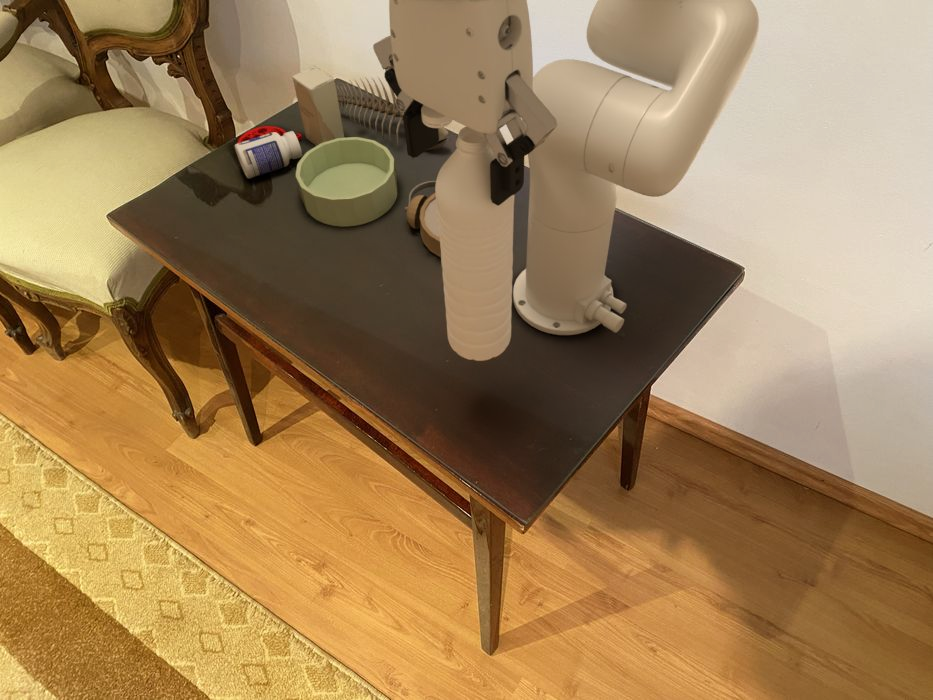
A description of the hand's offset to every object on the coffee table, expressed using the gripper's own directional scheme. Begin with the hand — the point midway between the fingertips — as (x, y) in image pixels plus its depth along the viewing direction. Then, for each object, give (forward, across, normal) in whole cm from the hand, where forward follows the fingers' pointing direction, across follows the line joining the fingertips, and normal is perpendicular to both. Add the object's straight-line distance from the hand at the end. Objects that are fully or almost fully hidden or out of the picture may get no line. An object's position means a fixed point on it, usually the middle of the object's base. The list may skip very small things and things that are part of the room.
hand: (464, 170), depth 60 cm
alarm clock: (+33, +21, -19) cm, 43 cm away
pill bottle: (+30, +53, -7) cm, 61 cm away
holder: (+32, +38, -14) cm, 52 cm away
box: (+33, +50, -21) cm, 64 cm away
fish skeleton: (+33, +47, -28) cm, 64 cm away
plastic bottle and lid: (+21, 0, 0) cm, 21 cm away
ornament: (+32, +60, -10) cm, 68 cm away
